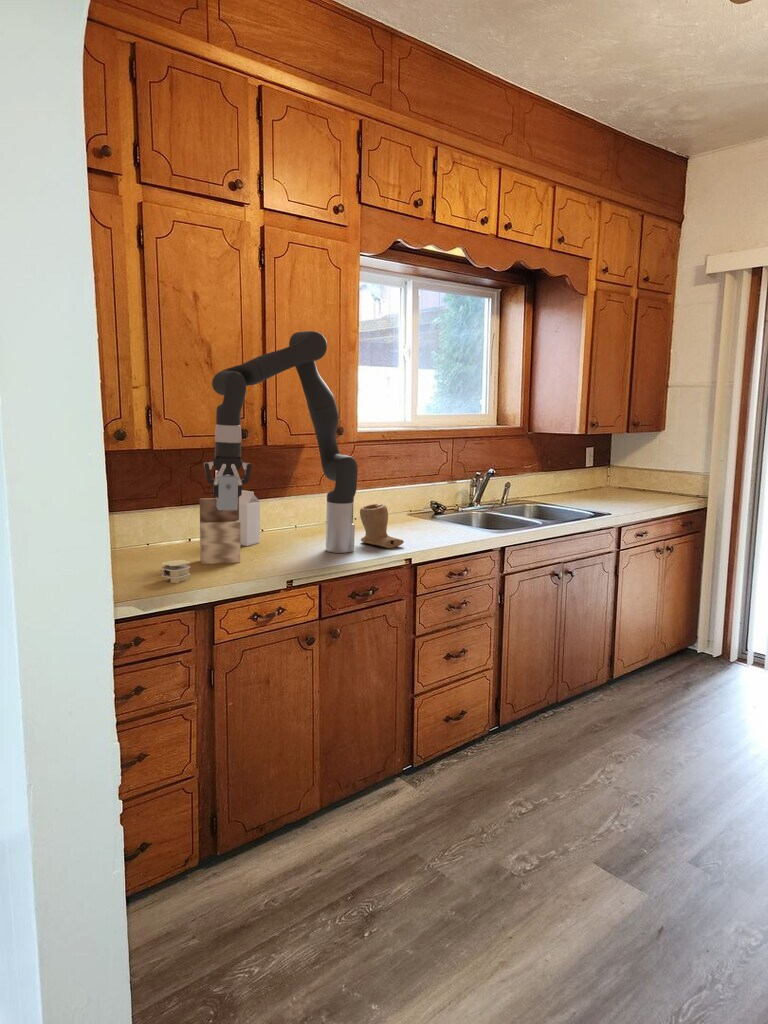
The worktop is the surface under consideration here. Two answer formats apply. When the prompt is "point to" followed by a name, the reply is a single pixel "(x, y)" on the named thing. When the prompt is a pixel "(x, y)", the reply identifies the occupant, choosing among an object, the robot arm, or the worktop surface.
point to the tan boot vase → (377, 526)
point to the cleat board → (218, 533)
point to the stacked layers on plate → (176, 570)
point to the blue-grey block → (227, 493)
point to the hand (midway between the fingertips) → (227, 497)
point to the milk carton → (249, 518)
